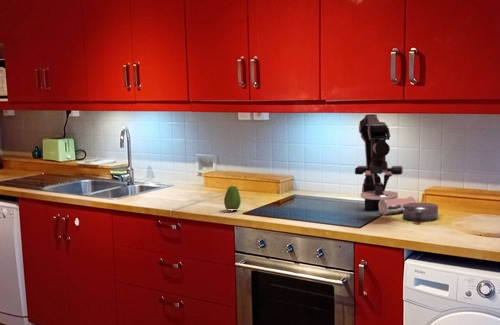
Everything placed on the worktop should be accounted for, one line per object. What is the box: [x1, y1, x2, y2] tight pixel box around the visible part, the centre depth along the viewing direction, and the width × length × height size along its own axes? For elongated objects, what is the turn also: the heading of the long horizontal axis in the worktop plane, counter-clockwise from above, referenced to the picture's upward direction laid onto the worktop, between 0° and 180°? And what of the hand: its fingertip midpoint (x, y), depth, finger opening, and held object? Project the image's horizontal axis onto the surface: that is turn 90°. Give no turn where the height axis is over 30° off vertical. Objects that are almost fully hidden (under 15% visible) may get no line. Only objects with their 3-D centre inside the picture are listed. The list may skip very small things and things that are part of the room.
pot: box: [402, 202, 439, 223], centre depth 243 cm, size 14×18×5 cm
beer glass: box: [379, 196, 417, 216], centre depth 257 cm, size 7×7×15 cm
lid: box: [360, 182, 399, 200], centre depth 244 cm, size 15×15×5 cm
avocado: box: [223, 185, 242, 210], centre depth 277 cm, size 8×8×12 cm
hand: (379, 190), depth 245 cm, fingers closed on lid, 3 cm apart
